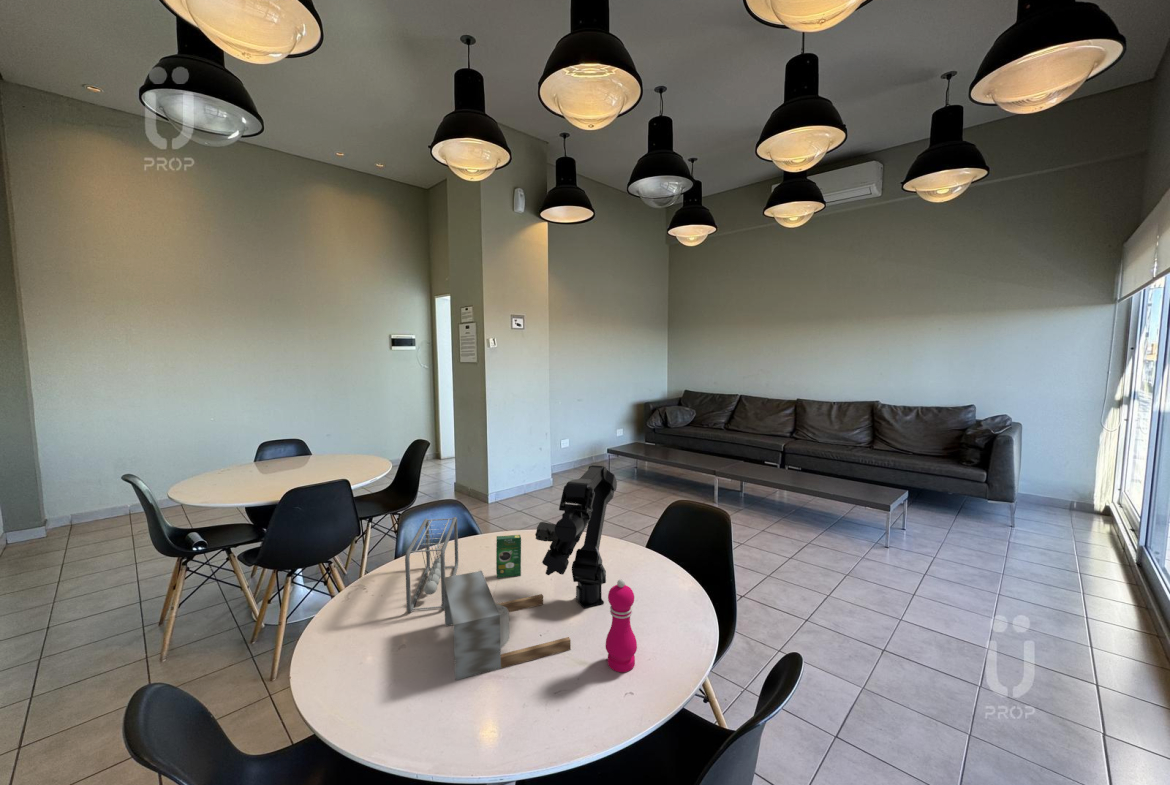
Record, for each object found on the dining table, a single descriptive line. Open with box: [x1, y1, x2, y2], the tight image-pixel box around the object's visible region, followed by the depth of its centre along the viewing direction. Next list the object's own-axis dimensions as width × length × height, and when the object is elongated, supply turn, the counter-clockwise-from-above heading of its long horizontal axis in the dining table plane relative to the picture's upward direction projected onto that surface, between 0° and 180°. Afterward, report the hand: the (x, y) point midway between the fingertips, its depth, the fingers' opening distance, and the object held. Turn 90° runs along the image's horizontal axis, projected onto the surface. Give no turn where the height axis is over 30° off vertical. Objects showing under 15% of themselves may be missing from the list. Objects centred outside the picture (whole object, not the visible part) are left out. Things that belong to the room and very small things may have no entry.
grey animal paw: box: [495, 603, 510, 649], centre depth 114 cm, size 10×13×9 cm
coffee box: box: [495, 534, 522, 579], centre depth 148 cm, size 8×3×13 cm, turn 103°
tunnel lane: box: [444, 570, 572, 681], centre depth 116 cm, size 27×23×13 cm
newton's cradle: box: [404, 516, 459, 614], centre depth 140 cm, size 30×10×18 cm, turn 9°
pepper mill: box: [605, 578, 638, 673], centre depth 105 cm, size 7×7×20 cm
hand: (547, 574), depth 124 cm, fingers closed
